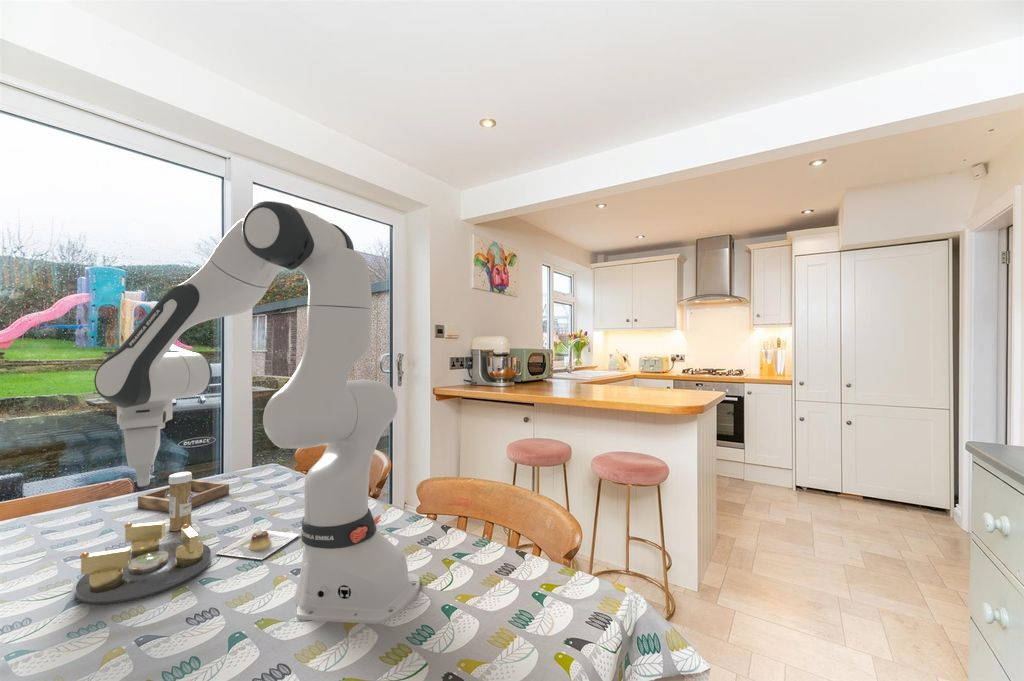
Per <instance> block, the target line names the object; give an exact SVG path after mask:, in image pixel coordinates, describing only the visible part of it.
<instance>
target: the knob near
mask: <svg viewBox="0 0 1024 681" xmlns="http://www.w3.org/2000/svg"><path fill="white" fill-rule="evenodd" d="M180 532H181V534H180V535H181V536H180V538H181V539H180V542H181V543H182V545H180V546H178V547H177V548H176V566H178V567H186V566H190V565H193V564H196V563H198V562H200V561H201V560H202V559H203V544H204V542H203V541H200V540H199V534H198V533H197V532H196V531H195V530H194V529H193V528H192V527H191V526H189V525H188V524H185V525H183V526H182V528H181V530H180Z"/></svg>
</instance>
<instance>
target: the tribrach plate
mask: <svg viewBox="0 0 1024 681" xmlns="http://www.w3.org/2000/svg"><path fill="white" fill-rule="evenodd" d="M180 545H182V543H181V541H180V542H170V543H163V544H159V551H155V552H150V553H146V554H143V555H140V556H138V557H136V558H132V551H131V564H130V565H129V566H128V567H125V568H123V582H122V583H121V584H120V585H119V586H117V587H115V588H113V589H110V590H107V591H104V592H98V593H92V592H90V591H89V574H84V575H82V577H81V578H80V579H79V580H78V581H77V583H76V586H75V596H76V597H75V598H76V599H77V600H78V601H79V602H80V603H83V604H85V605H91V606H92V605H93V606H110V605H118V604H124V603H130V602H134V601H139V600H144V599H146V598H147V599H148V598H150V597H154V596H157V595H160V594H163V593H166V592H169V591H171V590H173V589H176V588H178V587H181V586H182V585H186V583H188V582H190V581H192V580H193V579H196V578H197V577H199V576H200V575H201V574H202V573H204V572H205V570H207V569H208V567H209V566H210V565H211V564H210V563H211V560H212V559H211V548H210V546H208V545H206V544H204V543H203V559H202V560H201V561H200V562H198V563H196V564H193V565H190V566H186V567H178V566H176V548H177V547H178V546H180Z"/></svg>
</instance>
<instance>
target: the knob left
mask: <svg viewBox="0 0 1024 681" xmlns="http://www.w3.org/2000/svg"><path fill="white" fill-rule="evenodd" d="M131 552H132V546H131V547H124V548H118V549H117V548H116V549H110V550H106V551H104V550H103V551H99V552H91V553H89V552H83V553H81V554H80V556H79V559H80V575H81V576H84V575H85V574H89V591H90V592H92V593H98V592H104V591H107V590H110V589H113V588H115V587H117V586H119V585H120V584H121V583H122V582H123V568H125V567H128V566H129V565H130V564H131Z"/></svg>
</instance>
